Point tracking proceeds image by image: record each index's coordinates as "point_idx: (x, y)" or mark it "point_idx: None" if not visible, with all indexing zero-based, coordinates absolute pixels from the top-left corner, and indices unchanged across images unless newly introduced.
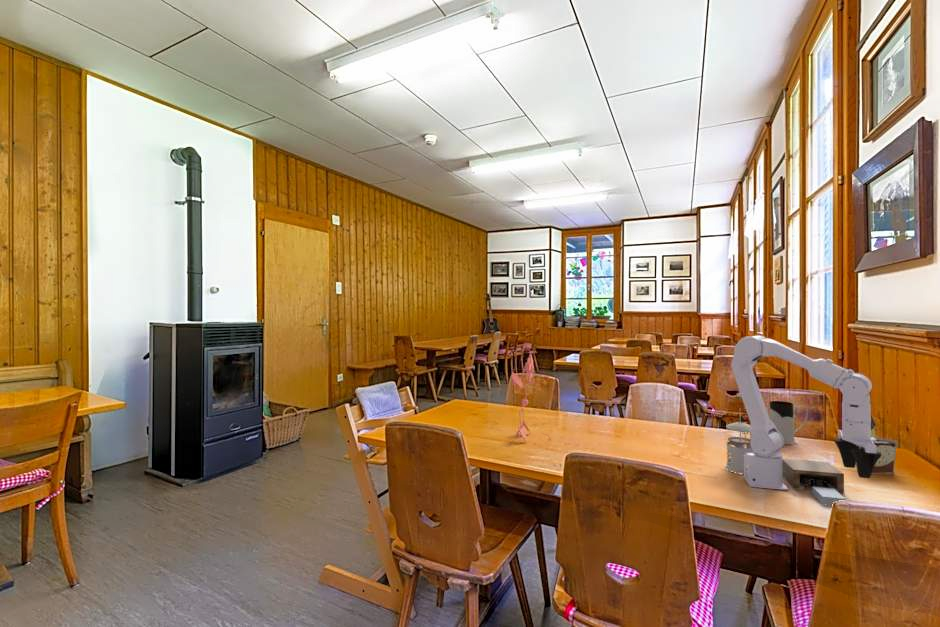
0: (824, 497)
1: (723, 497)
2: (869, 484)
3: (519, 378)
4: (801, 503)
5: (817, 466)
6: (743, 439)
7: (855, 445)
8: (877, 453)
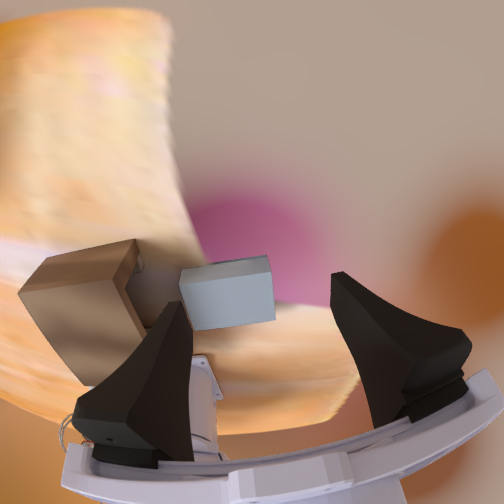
0: (274, 314)
1: (298, 411)
2: (15, 157)
3: None
4: (283, 338)
5: (86, 334)
6: (88, 445)
7: (153, 414)
8: (461, 358)
